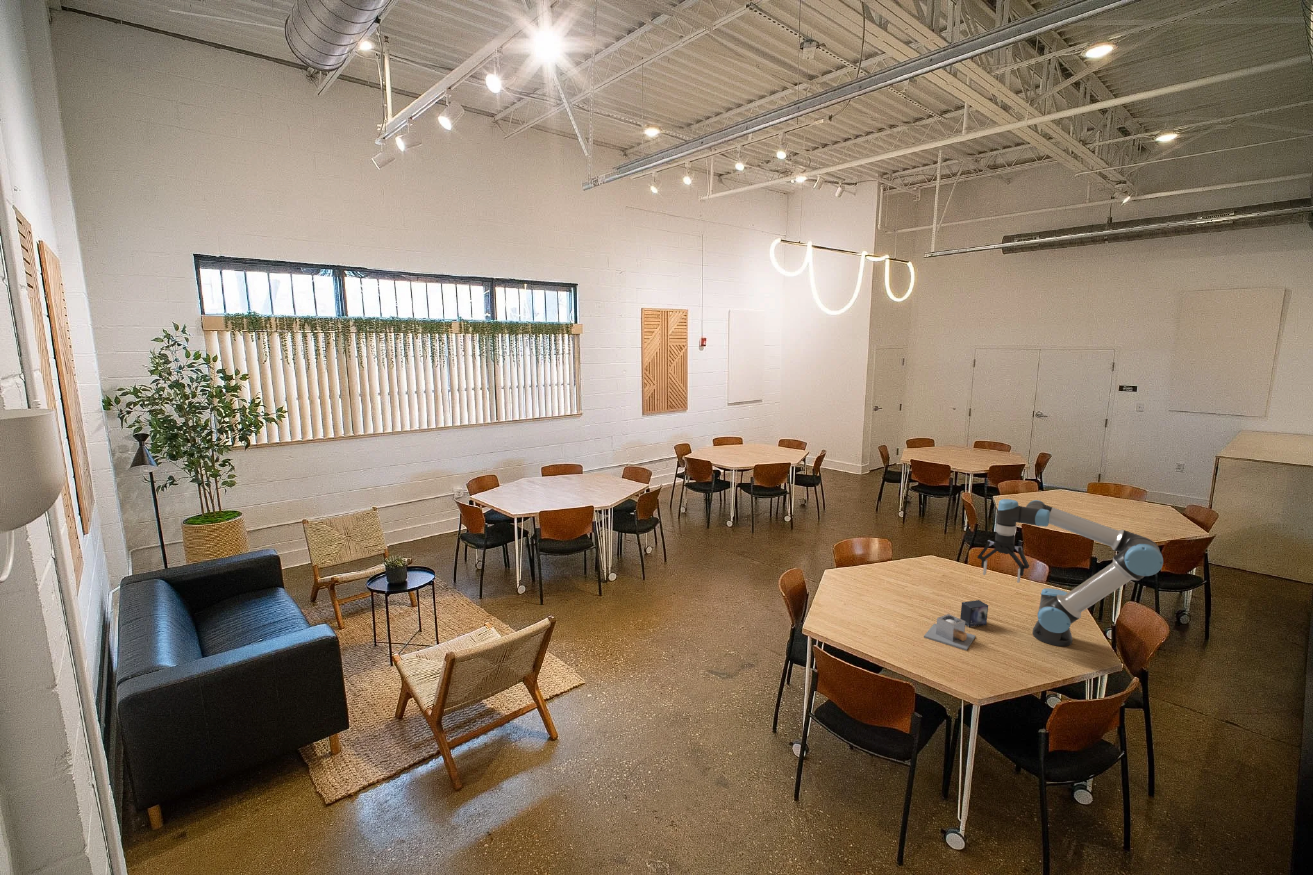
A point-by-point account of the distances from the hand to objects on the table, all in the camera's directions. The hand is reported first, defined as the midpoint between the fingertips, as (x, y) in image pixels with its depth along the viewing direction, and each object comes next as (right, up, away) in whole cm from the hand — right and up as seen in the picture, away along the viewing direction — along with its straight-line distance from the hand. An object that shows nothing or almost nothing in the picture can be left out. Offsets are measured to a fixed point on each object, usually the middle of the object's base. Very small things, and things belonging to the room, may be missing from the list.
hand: (1001, 577), depth 262 cm
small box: (-4, -27, +17) cm, 32 cm away
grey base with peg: (-22, -29, +4) cm, 36 cm away
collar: (-21, -28, +2) cm, 35 cm away
